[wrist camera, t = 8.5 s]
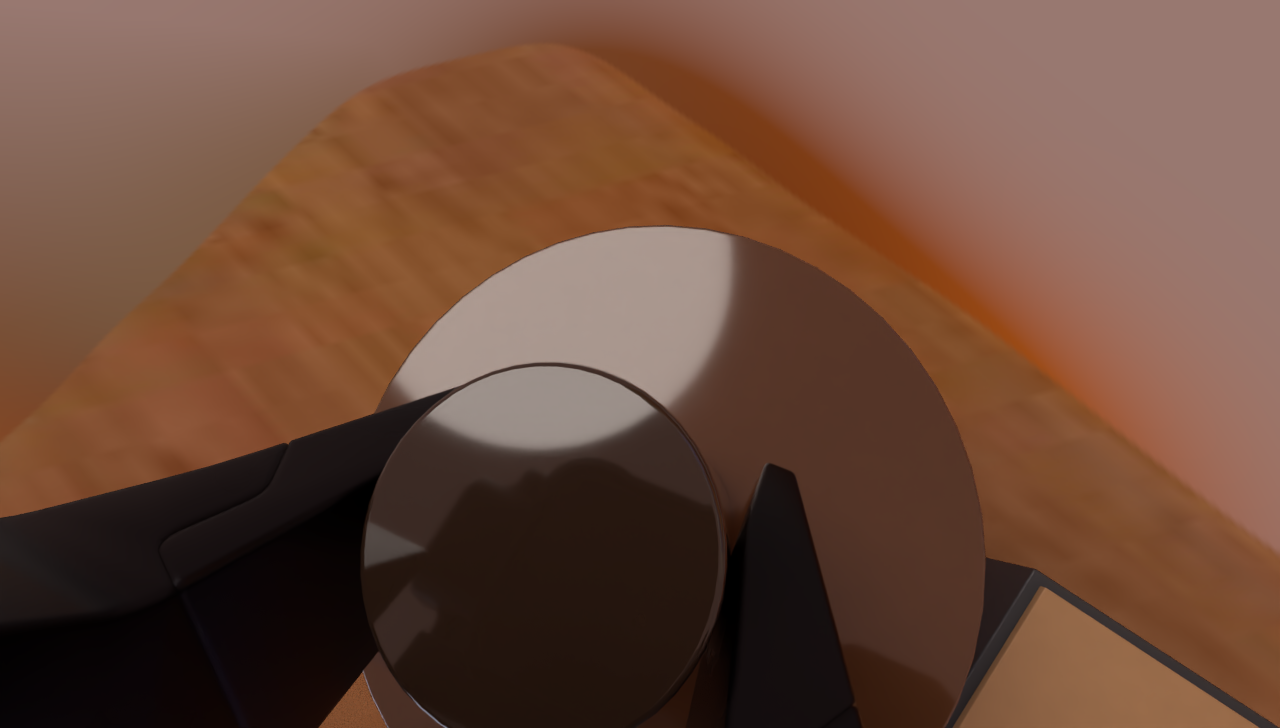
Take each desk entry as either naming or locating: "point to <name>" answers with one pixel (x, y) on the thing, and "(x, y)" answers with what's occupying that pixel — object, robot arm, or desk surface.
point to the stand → (1077, 667)
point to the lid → (658, 488)
